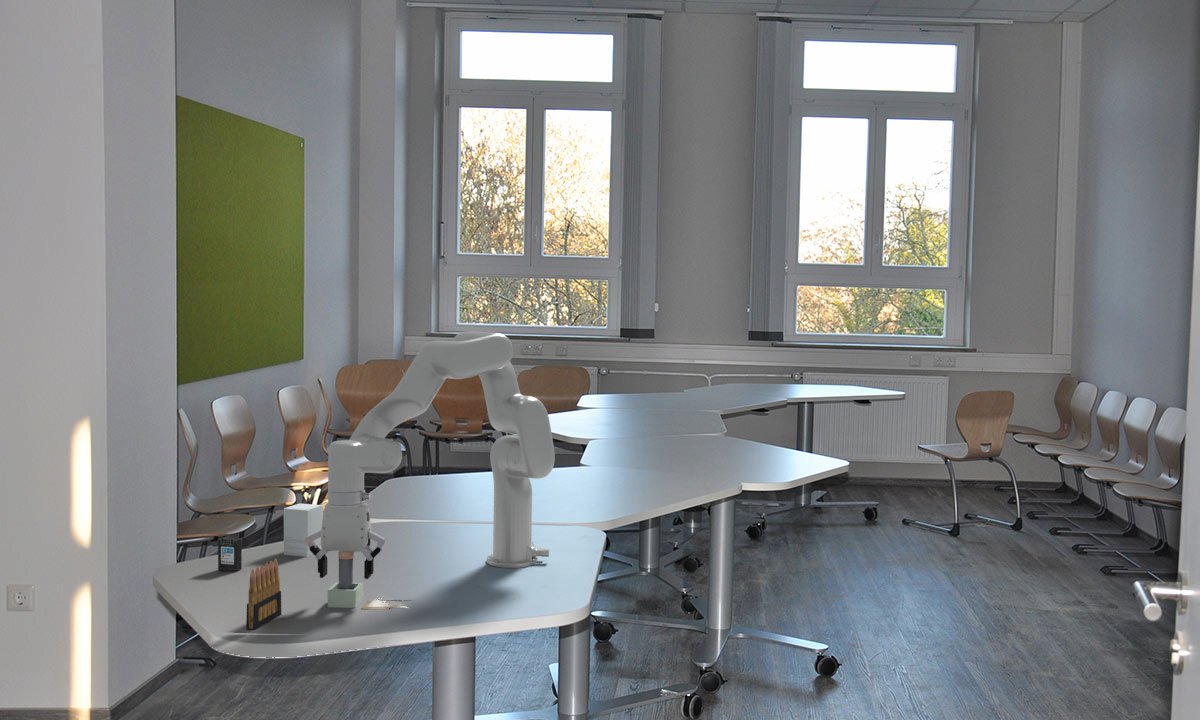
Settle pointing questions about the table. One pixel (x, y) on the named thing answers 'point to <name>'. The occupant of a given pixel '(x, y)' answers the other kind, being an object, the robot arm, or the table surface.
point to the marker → (345, 570)
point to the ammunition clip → (263, 596)
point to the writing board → (382, 604)
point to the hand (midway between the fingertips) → (345, 576)
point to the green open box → (345, 596)
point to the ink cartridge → (230, 554)
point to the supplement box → (301, 528)
